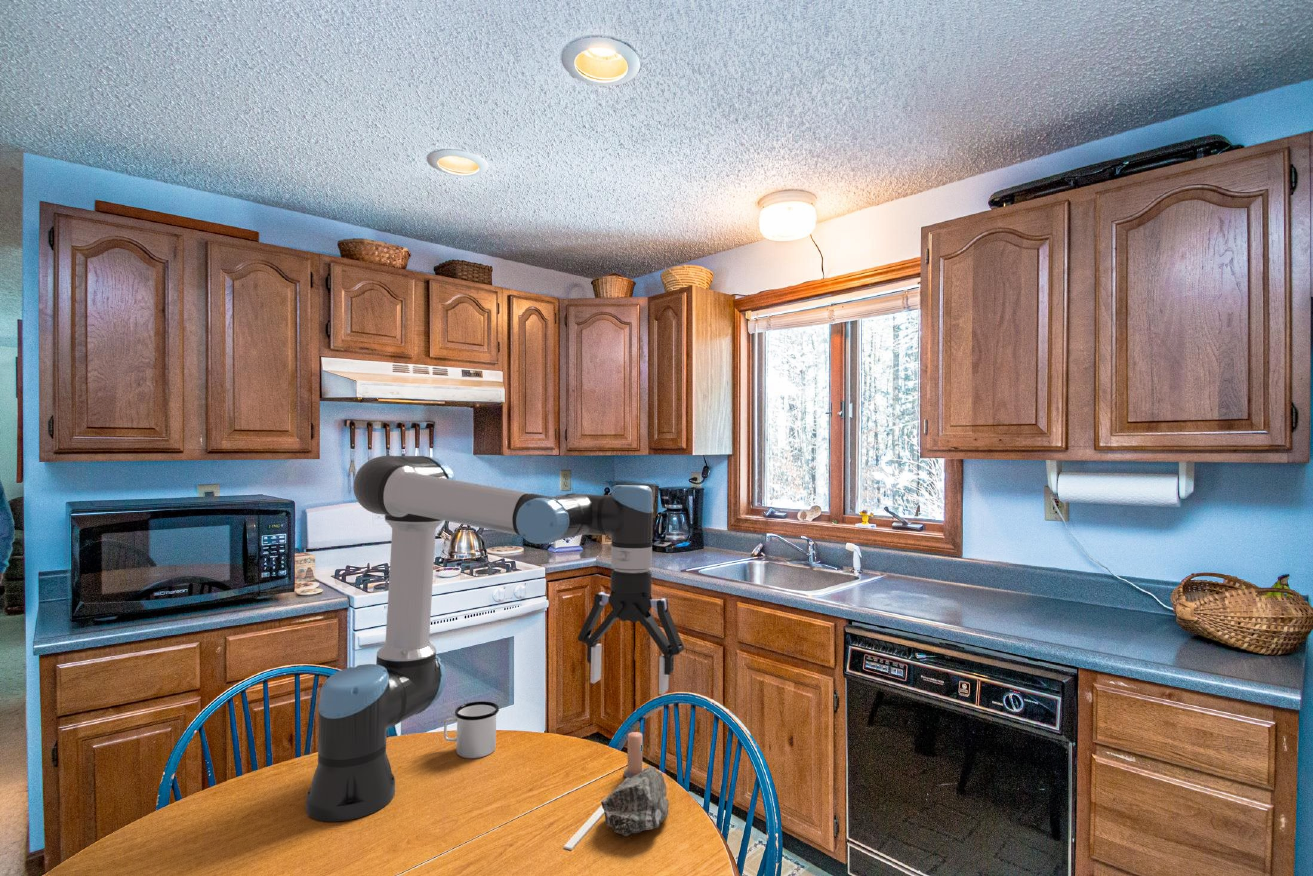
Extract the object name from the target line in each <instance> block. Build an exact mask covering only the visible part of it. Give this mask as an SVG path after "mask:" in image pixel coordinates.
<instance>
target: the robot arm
mask: <svg viewBox="0 0 1313 876" xmlns="http://www.w3.org/2000/svg"><path fill="white" fill-rule="evenodd" d="M352 488H353V494H354V496H355V499H356V500H357V502H358V504H359V505H360V506H361V507H362V508H363V509H365V511H368V512H370V513H372V514H376V515H383V516H384V521H385V522H386V523H387V524H388V525H389V526H390V528H391V529H392V530H391V545H390V546H391V547H390V559H389V580H388V596H387V609H386V610H387V612H386V627H385V628H386V629H385V643H384V645H382V646H381V647H380V648H379V649H378V650H377V651H376V664H373V663H368V664H367V663H366V664H359V665H356V666H355V667H354V666H353V667H352V666H350V667H347V668H344V669H342V670H339V671H337V672H335V673H334V674H331V676H329V677H328V678H326V679H325V681H324V682H323V684H322V685H321V688H320V694H319V696H320V697H319V701H318V704H317V705H318V706H317V707H318V708H317V710H318V737H317V738H318V745H317V746H318V747H317V753H318V754H317V765H316V768H315V771H314V774H313V778H312V780H311V785H310V788H309V789H308V791H307V793H306V796H305V812H306V815H308V817H310V818H312V819H313V820H317V821H320V822H329V823H331V822H344V821H350V820H351V821H352V820H354V819H359V818H362V817H366V816H368V815H371V814H373V813H375V812H378V811H380V810H382V808H384V807H386V806H387V805H388V804H389V803H390V802H392V800H393V799H394V798H395V794H396V779H395V778H396V777H395V776H394V774H393V771H392V767H391V764H390V761H389V758H388V755H387V733H388V732H387V730H389V729H391V728H393V727H394V726H396V725H398V724H400V723H402V722H404V721H405V720H407V719H409V718H411V717H412V716H416V715H419V714H421V713H423V712H424V711H426V709H428V708H429V707H431V706H432V705H433V704H434V703H436V702H437V701H438V699H440V697H441V695H442V693H443V691H444V689H445V686H446V685H445V684H446V679H447V675H446V674H447V673H446V669H445V665H444V664H442V660H441V658H440V657H439V655H438V654H437V648H436V646H434V644H432V643H431V641H430V629H431V614H432V613H431V611H432V598H433V597H432V595H433V579H434V566H435V565H434V564H435V548H436V545H435V544H436V533H437V531H436V529H437V528H438V527H439V526H440V525H441V524H442V523H443V522H444V521H445V522H451V523H455V524H461V525H465V526H470V527H475V528H480V529H485V530H490V531H496V532H502V533H505V534H511V535H517V536H521V537H522V538H523V539H524V540H525V541H526V542H528V543H531V544H536V545H537V544H539V545H540V544H545V545H547V544H551V543H555V542H557V541H561V540H565V539H568V538H574V537H578V536H582V535H591V536H592V535H593V536H595V535H596V536H610V537H611V549H610V550H611V553H610V555H611V556H610V557H611V559H610V566H611V568H613V569H612V570H611V572H610V587H609V588H610V594H607V592H606V591H600V592H597V593H595V594H594V598H593V599H594V600H593V605H592V608H591V609H590V612H589V613H588V616H587V617H586V620H585V622H584V624H583V626H582V628H581V630H580V632H579V634H578V635H577V636H578V637H577V641H579V642H583V643H584V644H585V645H586V646H587V647H586V648H587V649H586V653H587V654H586V655H587V656H586V660H587V663H588V664H590V683H591V684H596V683H597V682H598V681H601V679H602V643H599V641H600V640H601V639H602V637H603V636H604V635H605V634H606V633H607V631H608V630H609V629H610V628H611V627H612V625H613V624H615V622H616V621H617V620H618V619H619V620H620V621H621V622H622V621H623V622H626V621H627V622H628V621H629V622H631V623H638V622H639V623H640V624H641V626H642V627H644V628H645V630H646V631H647V633H648V634H649V636H650V637H651V638H652V640H653V642H655V644H656V646H657V647H658V649H659V650H660V651H661V653H662V654H661V655H660V656H659V660H658V661H659V663H658V664H659V667H658V668H659V669H658V670H659V672H658V695H661V696H662V695H663V696H664V695H665V694H666V693H667V692H668V691H669V676H670V675H672V674H673V672H674V663H675V662H674V659H675V658H674V656H676V655H680V653H682V652H683V651H684V650H685V646H684V643H683V641H682V639H681V637H680V635H679V632H678V630H677V628H676V625H675V623H674V620H673V617H672V615H671V613H670V610H669V602H668V601H669V600H668V599H667V598H666V597H663V598H661V599H653V597H652V571H651V570H650V569H651V568H652V567H653V521H654V520H653V518H654V517H653V516H654V505H653V504H654V503H653V501H654V499H653V491H652V489H651V487H650V486H648V485H639V484H638V485H637V484H629V485H628V484H617V485H614V486H613V488H612V491H611V494H605V495H603V494H587V493H586V494H585V493H577V492H573V493H572V492H569V493H559V494H556V496H549V495H542V494H538V493H530V492H526V491H525V492H524V491H519V490H514V489H508V488H502V487H498V486H489V485H486V484H478V483H472V482H469V481H468V482H467V481H462V480H457V479H456V477H455V474H454V472H453V470H452V468H450V466H448V464H447V463H446V462H445V461H444V460H441V459H439V458H437V457H431V456H425V455H380V456H377V457H374V458H371V459H370V460H368V461H366V462H365V463H364V464H363V465H362V466H361V467H360V468H359V469H358V471H357V472H356V474H355V476H354V480H353V487H352ZM608 603H609V604H608ZM607 604H608V605H610V607H611V609H612V610H611V611H610V613H608V615H606V618H605V619H604V620H603V621H602V622H601V623H600V625H599V626H598V627H597V628H596V630H594V629H595V626H596V624H597V622H598V620H599V618H600V616H601V614H602V612H603V610H604V608H605V606H606V605H607ZM651 608H654V611H655V612H656V613H657V616H658V619H659V621H660V623H661V626H662V628H661V627H660V626H659V625H658V623H657V622H656V620H655V617H654V616H653V614H652V612H651ZM593 630H594V632H593Z"/></svg>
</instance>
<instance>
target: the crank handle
mask: <svg viewBox="0 0 1313 876" xmlns="http://www.w3.org/2000/svg"><path fill="white" fill-rule="evenodd" d="M641 745H642V746H643V733H642V732H639V731H631V732H629V733H628V734H627V768H626V769H625V770H624V771H623V776H625V777H626V778H625V777H624V778H625V779H624V780H623V781H622V782H625V781H627V780H629V779H631V778H632V777H633V776H635V775H637V774H639V773H641V772H642V771H644V769H645V768H643V750H642V751H641ZM603 815H605V813H604V809H603V808H602V805H600V806H599V807H598V808H597V809H596V810H595V811H594V813H593V814H592V815H591V816H590V817H589V818H588V819H587V820H586V821H585V823H584V824H583V825H582V826H581V827H580V828H579V829H578V830H577V831H576V832H575V833H574V835H572V836H571V838H569V840H567V842H566V843H565V844H564V845H563V849H566V850H569V851H573V849H574V848H575V847H576V846H577V845H578V844H579V842H581V840H583V838H584V837H585V836H586V835H587V834H588V833H589V831H590V830H591V829H593V827H594V826H596V823H597V822H599V820H600V819H601V818H602V817H603Z"/></svg>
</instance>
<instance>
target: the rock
mask: <svg viewBox="0 0 1313 876" xmlns="http://www.w3.org/2000/svg"><path fill="white" fill-rule="evenodd" d="M643 769H644V771H642V772H641V773H639V774H637V775H635V776H633V777H632V778H631V779H629V780H627V781H625V782H623V781H622V782H621V783H620V784H619V785H617V786H616V787H615V788H614V789H613V790H612V792H611V793H609V794H608V795H607V797H605V798H604V799H602V800H601V805H602V808H603V809H604V818H605V824H606V826H607V827H611V828H612V829H613V831H614V833H616V834H617V833H618V834H619V835H622V836H624V837H628V836H629V835H631V834H639V833H642V831H649V830H653V829H657V828H659V826H660V823H662V822H664V820H665V819H666V818H667V816H668V815H669V807H670V806H669V805H670V802H669V800H668V798H666V796H667V794H668V793H667V784H666V781H665V779H664V776H663V774H662V772H659V771H657V769H656V767H654V766H651V765H650V766H647V767H646V768H643ZM601 805H600V806H601Z"/></svg>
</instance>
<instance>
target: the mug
mask: <svg viewBox="0 0 1313 876" xmlns="http://www.w3.org/2000/svg"><path fill="white" fill-rule="evenodd" d="M499 711H500V707H499V705H498V704H497V703H495V702H492V701H485V700H484V701H472V702H466V703H464V704H461V705H459V706H458V707H457V708H456V709H455V710H454V716H455V717H450V718H447V719H445V720H444V726H443V732H444V733H443V734H444V735H443V736H444V739H445V740H446V741H449V742H456V754H457V755H459V756H460V757H462V758H465V759H481V758H484V757H487V756H489V755H491V754H492V753H493V752H495V750H496V749H497V748H496V747H497V714H498V712H499ZM448 722H456V737H448V731H447V727H448Z"/></svg>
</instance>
